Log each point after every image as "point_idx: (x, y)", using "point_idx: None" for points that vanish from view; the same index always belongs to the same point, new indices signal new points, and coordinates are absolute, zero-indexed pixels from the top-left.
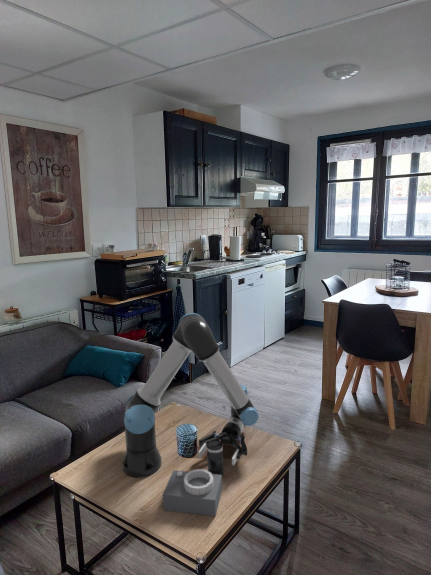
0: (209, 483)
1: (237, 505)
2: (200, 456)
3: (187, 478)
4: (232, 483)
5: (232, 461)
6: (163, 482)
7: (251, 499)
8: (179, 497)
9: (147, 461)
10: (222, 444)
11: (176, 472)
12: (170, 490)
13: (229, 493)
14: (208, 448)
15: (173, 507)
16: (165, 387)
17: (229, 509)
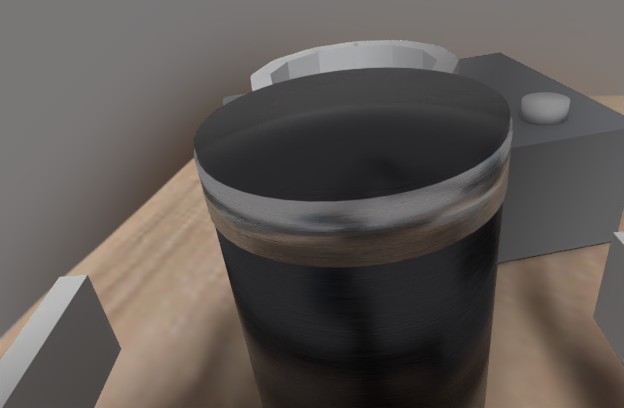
0: (264, 70)
1: (132, 255)
2: (601, 297)
3: (430, 65)
4: (169, 405)
5: (95, 309)
6: None
7: (31, 313)
8: None
9: None
10: (203, 161)
11: (593, 120)
12: (485, 67)
13: (188, 308)
14: (411, 70)
15: None
16: None
17: (178, 226)
